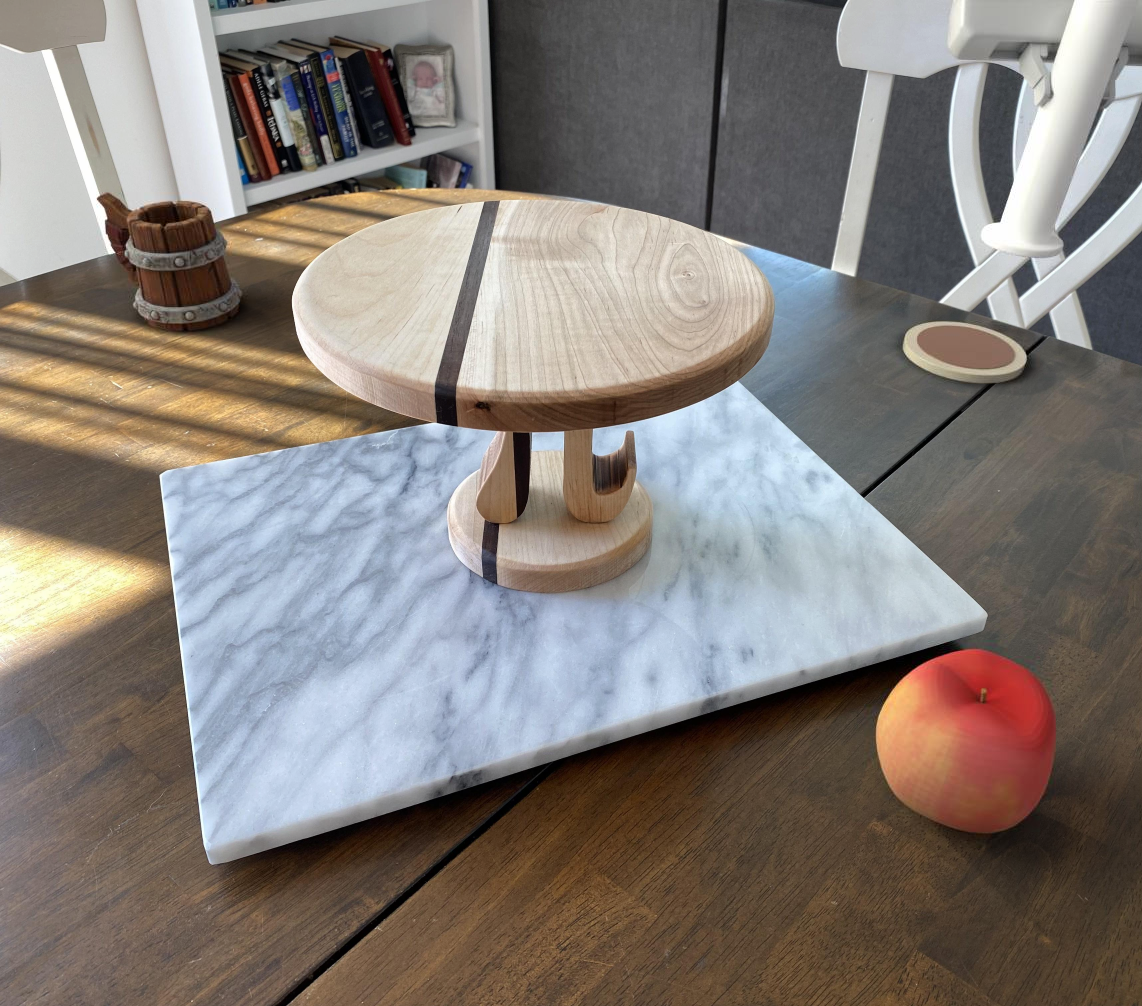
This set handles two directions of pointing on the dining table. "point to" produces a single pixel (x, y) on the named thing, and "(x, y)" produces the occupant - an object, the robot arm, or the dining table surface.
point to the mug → (173, 262)
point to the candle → (1061, 128)
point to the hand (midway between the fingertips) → (1075, 103)
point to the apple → (968, 741)
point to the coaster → (964, 352)
